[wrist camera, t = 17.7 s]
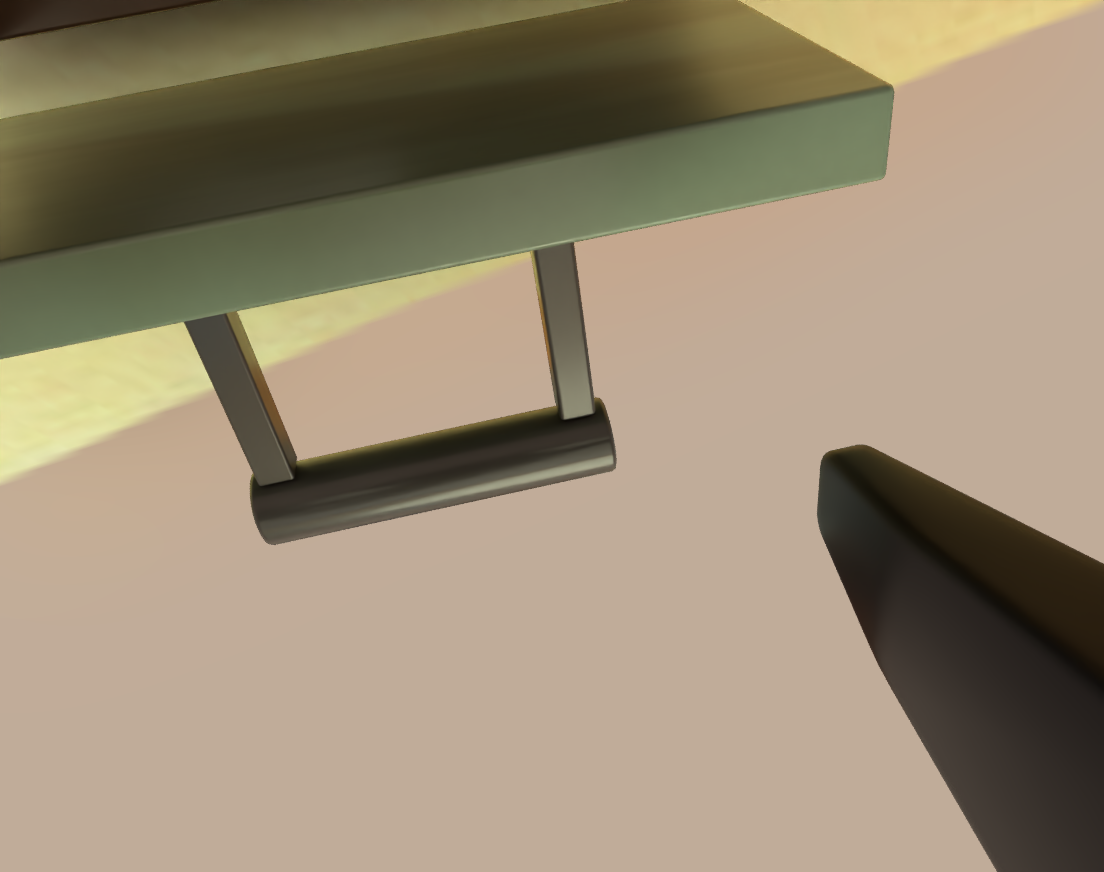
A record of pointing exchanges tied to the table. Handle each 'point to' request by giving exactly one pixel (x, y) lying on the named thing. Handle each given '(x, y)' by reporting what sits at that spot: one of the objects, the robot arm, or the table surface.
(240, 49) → the table surface
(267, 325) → the table surface
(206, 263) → the drawer
